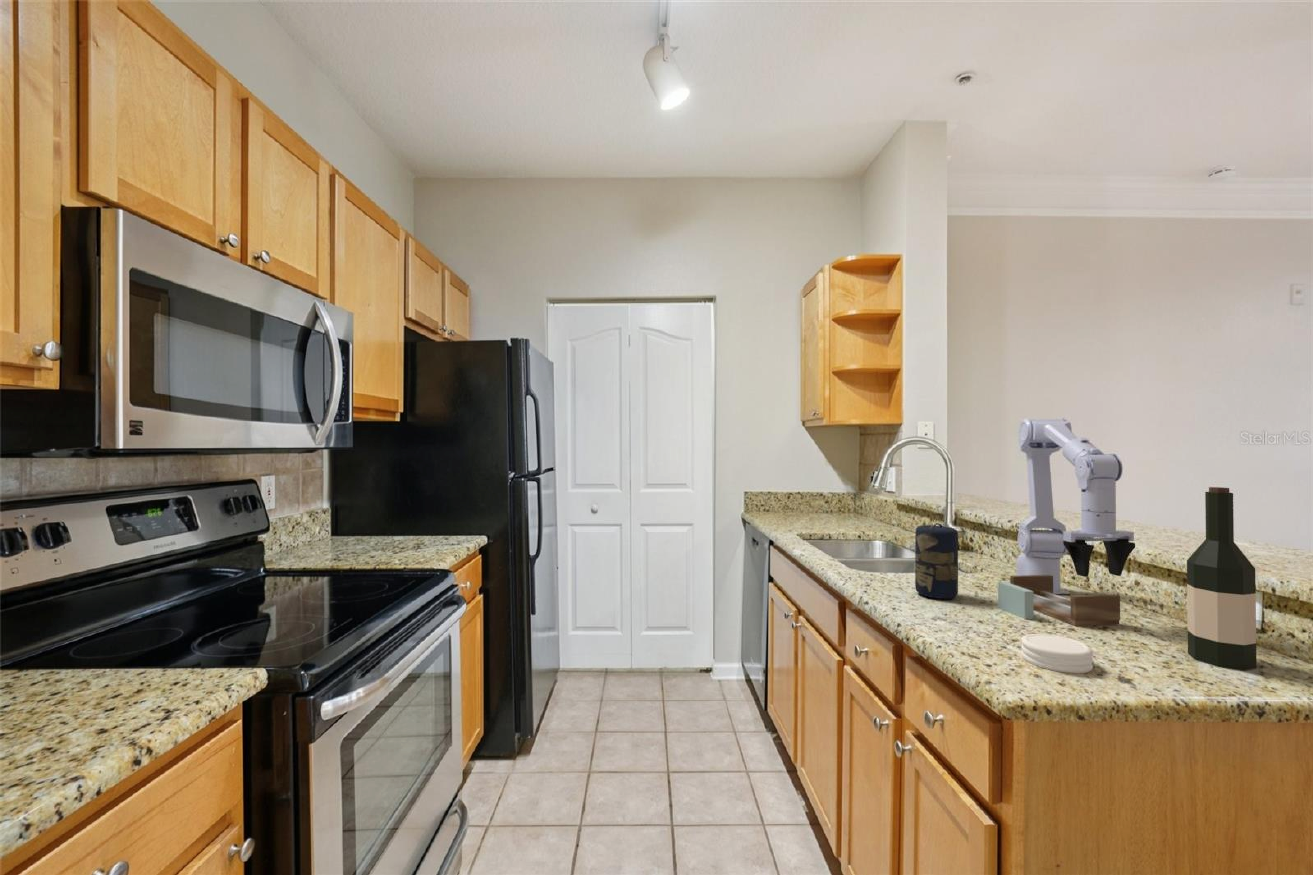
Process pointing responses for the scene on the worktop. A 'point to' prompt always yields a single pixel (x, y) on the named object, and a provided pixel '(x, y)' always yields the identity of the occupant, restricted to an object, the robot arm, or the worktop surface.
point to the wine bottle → (1221, 592)
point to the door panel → (1015, 600)
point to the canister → (936, 561)
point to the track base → (1070, 603)
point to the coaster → (1057, 653)
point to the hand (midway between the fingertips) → (1098, 575)
